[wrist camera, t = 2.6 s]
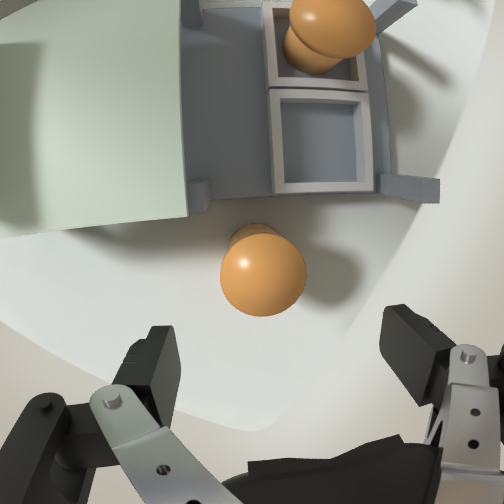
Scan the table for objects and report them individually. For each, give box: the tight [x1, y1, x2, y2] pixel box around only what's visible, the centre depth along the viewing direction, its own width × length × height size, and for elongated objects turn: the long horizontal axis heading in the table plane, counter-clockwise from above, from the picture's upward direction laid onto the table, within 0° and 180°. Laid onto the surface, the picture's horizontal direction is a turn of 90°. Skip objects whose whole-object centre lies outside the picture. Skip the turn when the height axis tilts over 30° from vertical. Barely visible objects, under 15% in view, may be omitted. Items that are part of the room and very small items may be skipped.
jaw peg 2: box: [282, 0, 376, 75], centre depth 15 cm, size 5×5×6 cm
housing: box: [180, 0, 440, 214], centre depth 16 cm, size 14×27×7 cm, turn 93°
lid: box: [0, 0, 189, 238], centre depth 10 cm, size 14×14×4 cm
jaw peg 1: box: [220, 224, 306, 317], centre depth 20 cm, size 5×5×6 cm
